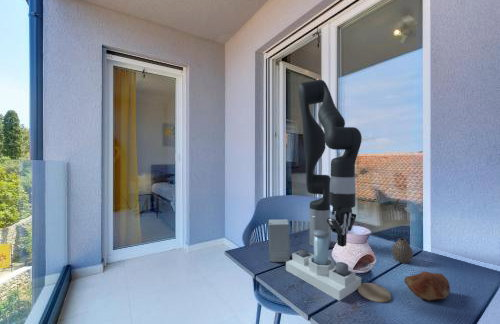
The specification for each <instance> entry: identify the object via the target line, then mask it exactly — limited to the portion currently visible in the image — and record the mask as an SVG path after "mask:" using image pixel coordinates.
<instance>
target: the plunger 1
mask: <svg viewBox="0 0 500 324" xmlns="http://www.w3.org/2000/svg"><path fill="white" fill-rule="evenodd" d="M297 252H298V255H299V256H301V257H303V258H305V257H307V256H308V252H309V250H307V249H304V248H303V249H302V248H300V249H299V250H297Z"/></svg>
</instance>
